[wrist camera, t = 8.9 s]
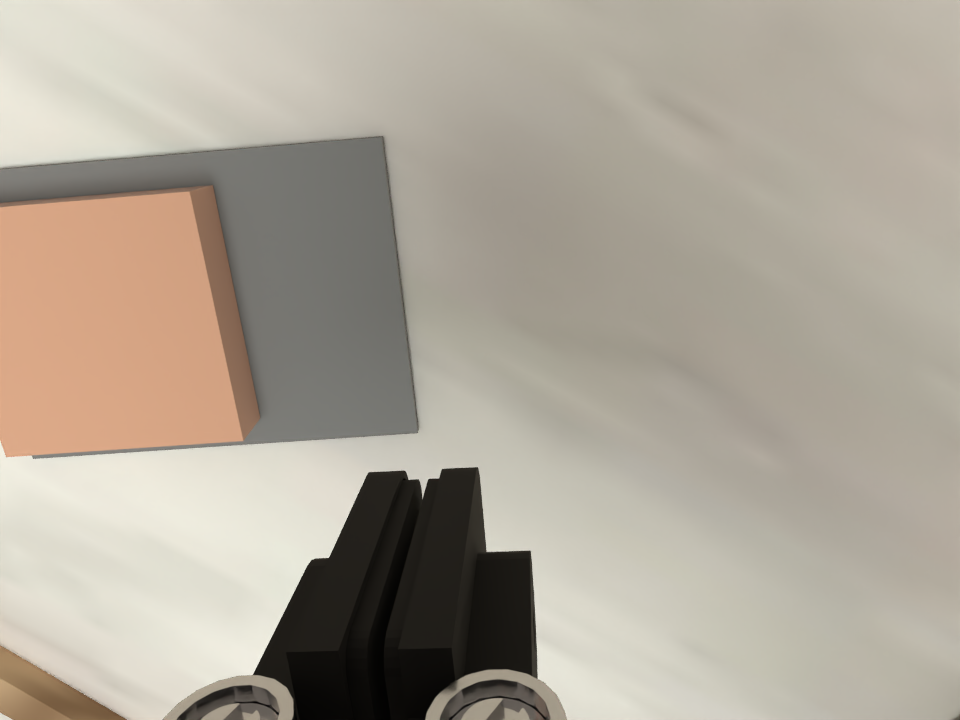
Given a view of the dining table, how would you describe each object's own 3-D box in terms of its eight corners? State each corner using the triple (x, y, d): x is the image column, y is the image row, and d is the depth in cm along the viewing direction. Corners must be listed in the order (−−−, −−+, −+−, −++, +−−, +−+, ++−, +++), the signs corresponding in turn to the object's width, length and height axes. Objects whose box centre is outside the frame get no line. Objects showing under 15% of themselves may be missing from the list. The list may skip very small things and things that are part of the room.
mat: (418, 429, 25) (417, 432, 25) (38, 454, 26) (33, 458, 25) (383, 136, 22) (381, 136, 21) (-54, 173, 22) (-61, 174, 22)
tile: (243, 440, 23) (6, 457, 23) (260, 417, 25) (39, 432, 25) (189, 191, 20) (-78, 213, 21) (213, 185, 22) (-34, 205, 22)
